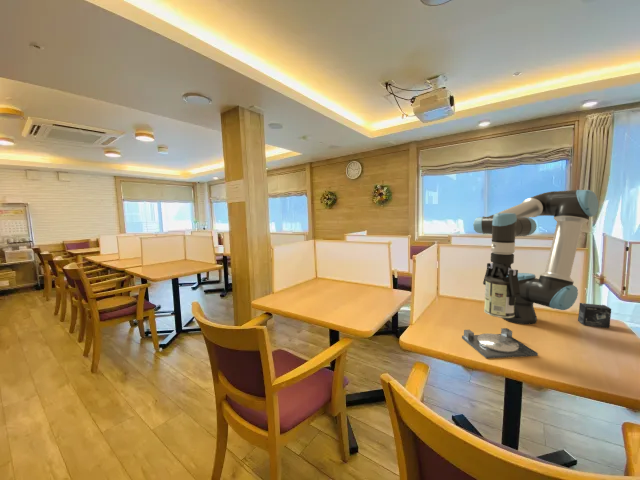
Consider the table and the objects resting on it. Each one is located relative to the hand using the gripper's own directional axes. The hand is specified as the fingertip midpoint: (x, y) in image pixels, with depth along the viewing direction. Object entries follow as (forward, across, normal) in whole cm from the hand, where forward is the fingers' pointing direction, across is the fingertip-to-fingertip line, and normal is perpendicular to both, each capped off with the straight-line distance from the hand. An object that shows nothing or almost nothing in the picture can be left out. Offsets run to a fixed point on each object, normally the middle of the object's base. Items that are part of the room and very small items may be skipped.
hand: (499, 307), depth 107 cm
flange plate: (+16, 0, 0) cm, 16 cm away
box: (+16, -16, +58) cm, 62 cm away
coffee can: (+3, 0, 0) cm, 3 cm away
